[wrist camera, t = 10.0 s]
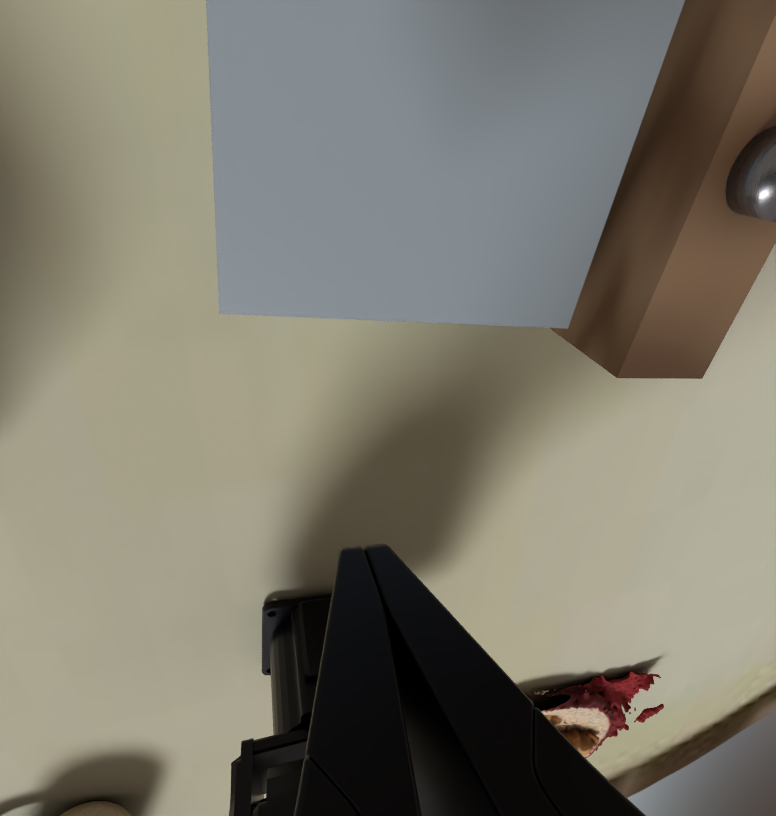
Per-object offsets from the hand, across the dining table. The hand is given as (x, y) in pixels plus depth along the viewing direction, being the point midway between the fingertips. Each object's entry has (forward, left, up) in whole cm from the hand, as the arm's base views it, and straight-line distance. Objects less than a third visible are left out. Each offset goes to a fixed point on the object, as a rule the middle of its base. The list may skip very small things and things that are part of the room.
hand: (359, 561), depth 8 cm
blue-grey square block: (+7, -3, -12) cm, 15 cm away
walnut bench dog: (+7, -13, -12) cm, 19 cm away
